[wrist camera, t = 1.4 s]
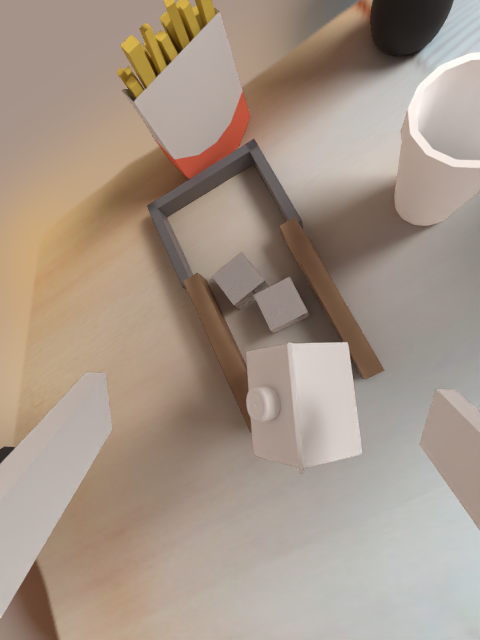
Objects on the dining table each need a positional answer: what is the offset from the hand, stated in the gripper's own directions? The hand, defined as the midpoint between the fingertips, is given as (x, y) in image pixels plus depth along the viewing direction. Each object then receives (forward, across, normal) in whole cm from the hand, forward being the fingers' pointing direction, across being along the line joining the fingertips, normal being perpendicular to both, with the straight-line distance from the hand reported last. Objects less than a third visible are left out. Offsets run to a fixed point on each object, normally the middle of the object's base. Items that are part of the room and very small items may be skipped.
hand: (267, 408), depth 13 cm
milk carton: (+20, +7, -12) cm, 24 cm away
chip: (+28, -1, -2) cm, 28 cm away
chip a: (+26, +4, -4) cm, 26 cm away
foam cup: (+28, +19, +9) cm, 35 cm away
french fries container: (+38, -6, +14) cm, 41 cm away
